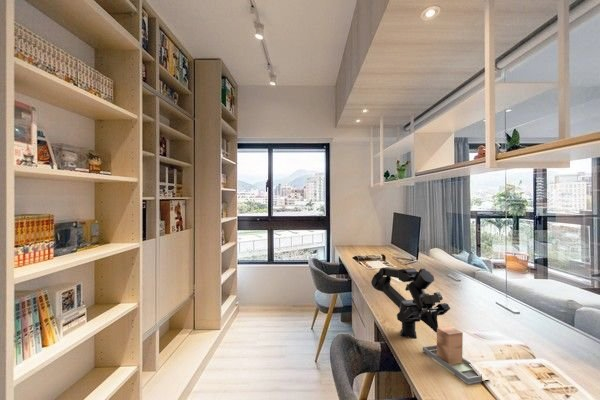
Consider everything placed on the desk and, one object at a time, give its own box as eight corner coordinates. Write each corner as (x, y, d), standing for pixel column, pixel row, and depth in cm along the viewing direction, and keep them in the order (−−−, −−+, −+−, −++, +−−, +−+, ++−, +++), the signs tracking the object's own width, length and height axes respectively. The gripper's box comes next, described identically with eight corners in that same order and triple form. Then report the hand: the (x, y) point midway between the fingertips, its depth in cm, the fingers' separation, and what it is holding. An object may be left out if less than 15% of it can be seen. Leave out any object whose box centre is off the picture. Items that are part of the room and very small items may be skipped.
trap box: (422, 352, 119) (422, 347, 119) (441, 349, 122) (441, 344, 122) (468, 384, 98) (468, 378, 98) (489, 380, 100) (490, 374, 100)
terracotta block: (436, 356, 114) (436, 327, 114) (449, 354, 115) (450, 325, 115) (448, 365, 108) (449, 334, 108) (462, 362, 110) (462, 332, 110)
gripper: (408, 286, 120) (427, 325, 110) (447, 283, 125) (468, 320, 115) (396, 300, 128) (413, 337, 117) (433, 296, 133) (452, 332, 122)
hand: (437, 331), depth 118 cm, fingers closed
